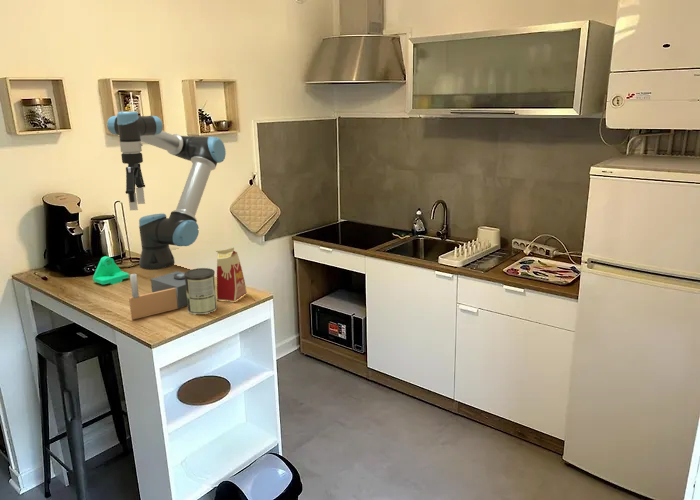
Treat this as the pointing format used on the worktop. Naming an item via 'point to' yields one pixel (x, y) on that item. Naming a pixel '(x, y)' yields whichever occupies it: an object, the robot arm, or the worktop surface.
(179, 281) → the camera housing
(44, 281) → the worktop surface
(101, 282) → the camera mount
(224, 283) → the red snack bag
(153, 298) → the side door
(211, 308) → the coffee can
